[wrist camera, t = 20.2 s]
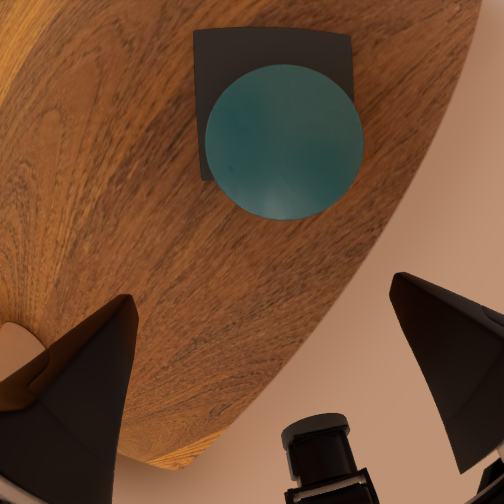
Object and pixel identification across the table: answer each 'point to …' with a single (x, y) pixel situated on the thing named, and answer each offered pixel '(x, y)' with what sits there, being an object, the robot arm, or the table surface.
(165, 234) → the table surface
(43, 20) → the table surface
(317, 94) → the jar lid
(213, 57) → the mat
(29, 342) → the jar
